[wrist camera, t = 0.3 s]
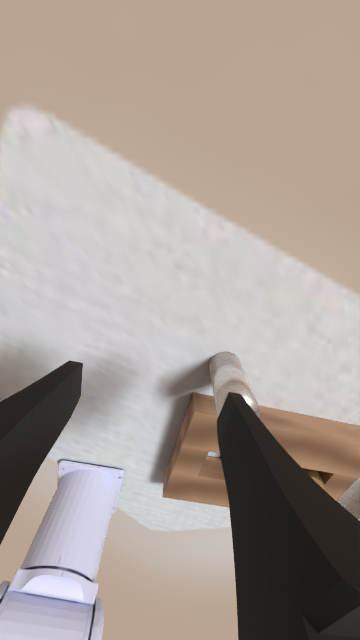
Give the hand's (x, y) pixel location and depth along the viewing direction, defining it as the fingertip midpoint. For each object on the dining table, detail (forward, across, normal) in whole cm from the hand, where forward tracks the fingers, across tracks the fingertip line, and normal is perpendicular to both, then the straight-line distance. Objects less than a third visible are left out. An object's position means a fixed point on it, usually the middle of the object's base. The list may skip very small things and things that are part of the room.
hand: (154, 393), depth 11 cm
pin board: (+9, -14, +15) cm, 23 cm away
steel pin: (+9, -6, +4) cm, 12 cm away
